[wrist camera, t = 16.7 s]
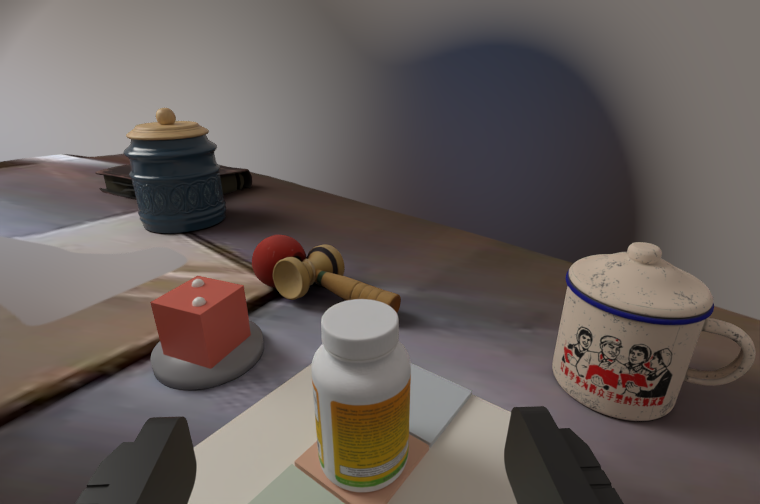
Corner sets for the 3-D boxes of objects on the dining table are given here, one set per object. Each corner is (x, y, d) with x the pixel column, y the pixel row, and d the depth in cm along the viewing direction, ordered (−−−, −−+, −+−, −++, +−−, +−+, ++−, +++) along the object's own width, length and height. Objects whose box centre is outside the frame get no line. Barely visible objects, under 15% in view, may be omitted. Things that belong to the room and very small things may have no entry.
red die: (214, 402, 31) (200, 328, 29) (128, 372, 35) (107, 304, 32) (283, 337, 39) (276, 274, 37) (207, 317, 42) (195, 258, 40)
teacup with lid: (536, 394, 32) (562, 255, 27) (560, 336, 39) (584, 216, 35) (735, 467, 26) (810, 305, 22) (721, 382, 33) (775, 246, 29)
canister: (125, 224, 68) (95, 109, 61) (197, 204, 78) (178, 103, 71) (172, 241, 61) (145, 113, 54) (244, 217, 71) (228, 106, 64)
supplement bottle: (426, 453, 26) (434, 316, 22) (363, 516, 22) (358, 364, 18) (364, 408, 29) (361, 282, 25) (300, 456, 25) (285, 318, 22)
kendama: (411, 310, 46) (286, 255, 54) (415, 265, 42) (281, 213, 50) (373, 358, 41) (240, 289, 48) (374, 311, 37) (230, 244, 45)
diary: (177, 177, 101) (173, 156, 99) (253, 190, 90) (251, 167, 88) (96, 194, 86) (90, 170, 84) (176, 213, 75) (170, 185, 73)
